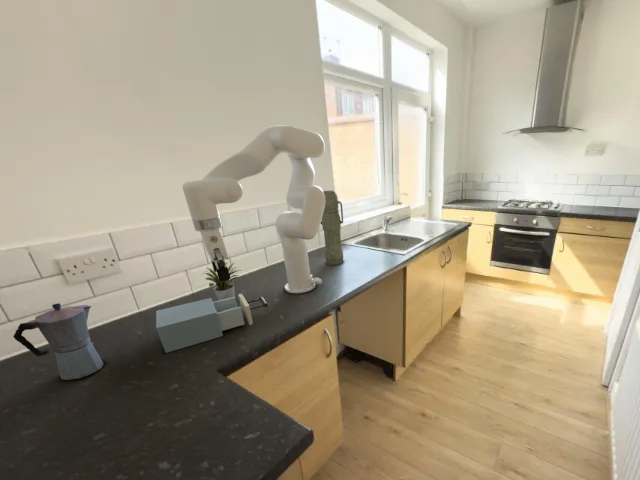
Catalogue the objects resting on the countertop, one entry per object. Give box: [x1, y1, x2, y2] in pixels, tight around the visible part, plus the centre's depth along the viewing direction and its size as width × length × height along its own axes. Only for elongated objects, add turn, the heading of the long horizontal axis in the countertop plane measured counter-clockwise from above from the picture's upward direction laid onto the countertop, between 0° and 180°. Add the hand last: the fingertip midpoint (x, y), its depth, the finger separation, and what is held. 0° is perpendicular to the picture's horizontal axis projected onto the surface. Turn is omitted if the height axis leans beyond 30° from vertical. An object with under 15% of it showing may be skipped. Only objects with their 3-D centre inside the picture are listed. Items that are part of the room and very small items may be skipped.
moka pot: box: [13, 302, 104, 381], centre depth 82 cm, size 10×15×20 cm, turn 161°
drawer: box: [213, 293, 269, 332], centre depth 107 cm, size 21×11×7 cm, turn 123°
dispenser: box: [155, 297, 224, 354], centre depth 100 cm, size 16×13×9 cm
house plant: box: [201, 260, 242, 301], centre depth 119 cm, size 14×14×16 cm
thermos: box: [320, 190, 344, 266], centre depth 155 cm, size 9×12×35 cm
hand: (222, 275), depth 104 cm, fingers open, 9 cm apart
